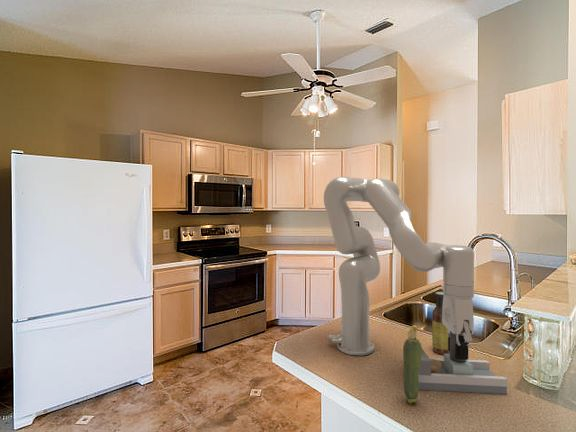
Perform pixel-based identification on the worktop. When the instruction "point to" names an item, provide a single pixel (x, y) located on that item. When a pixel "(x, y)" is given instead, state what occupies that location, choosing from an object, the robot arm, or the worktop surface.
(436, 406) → the worktop surface
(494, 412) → the worktop surface
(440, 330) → the sauce bottle
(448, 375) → the vice bench
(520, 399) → the worktop surface
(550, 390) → the worktop surface
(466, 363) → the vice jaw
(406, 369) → the vegetable
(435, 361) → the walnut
